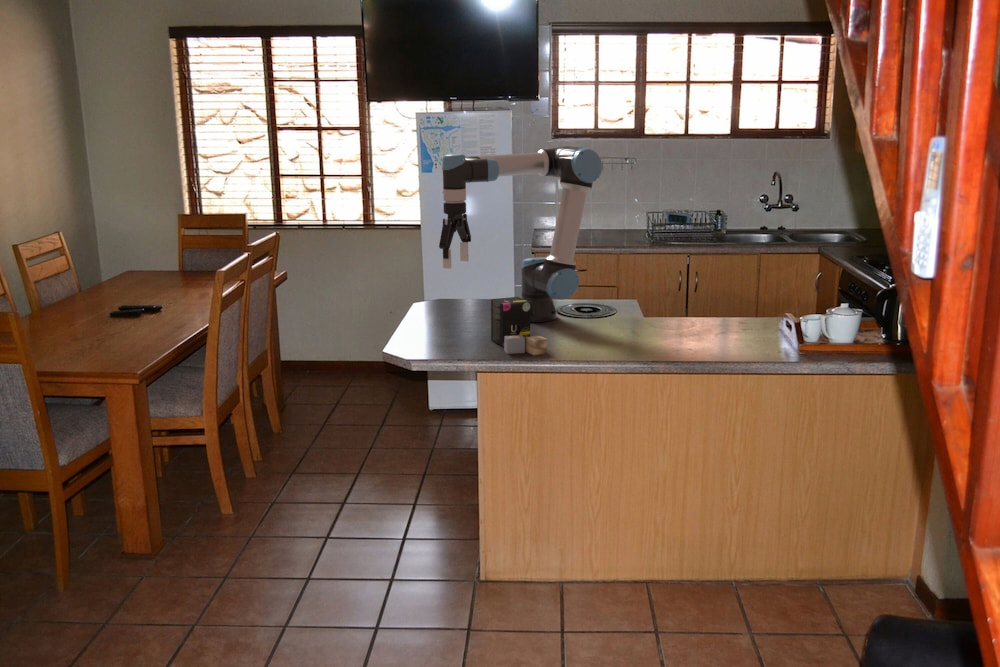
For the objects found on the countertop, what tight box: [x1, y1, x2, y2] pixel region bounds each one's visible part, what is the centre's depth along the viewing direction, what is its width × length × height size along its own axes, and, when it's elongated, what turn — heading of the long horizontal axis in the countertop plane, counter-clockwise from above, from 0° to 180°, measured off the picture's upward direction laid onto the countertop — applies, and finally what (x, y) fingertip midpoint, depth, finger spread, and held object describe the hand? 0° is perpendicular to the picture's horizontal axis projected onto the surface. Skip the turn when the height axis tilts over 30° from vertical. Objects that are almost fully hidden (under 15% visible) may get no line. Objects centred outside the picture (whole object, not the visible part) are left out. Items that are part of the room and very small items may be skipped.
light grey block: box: [503, 335, 526, 355], centre depth 293 cm, size 6×4×5 cm, turn 101°
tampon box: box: [490, 296, 531, 347], centre depth 304 cm, size 11×9×15 cm
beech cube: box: [525, 335, 548, 356], centre depth 292 cm, size 5×5×5 cm
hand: (456, 264), depth 302 cm, fingers open, 13 cm apart
